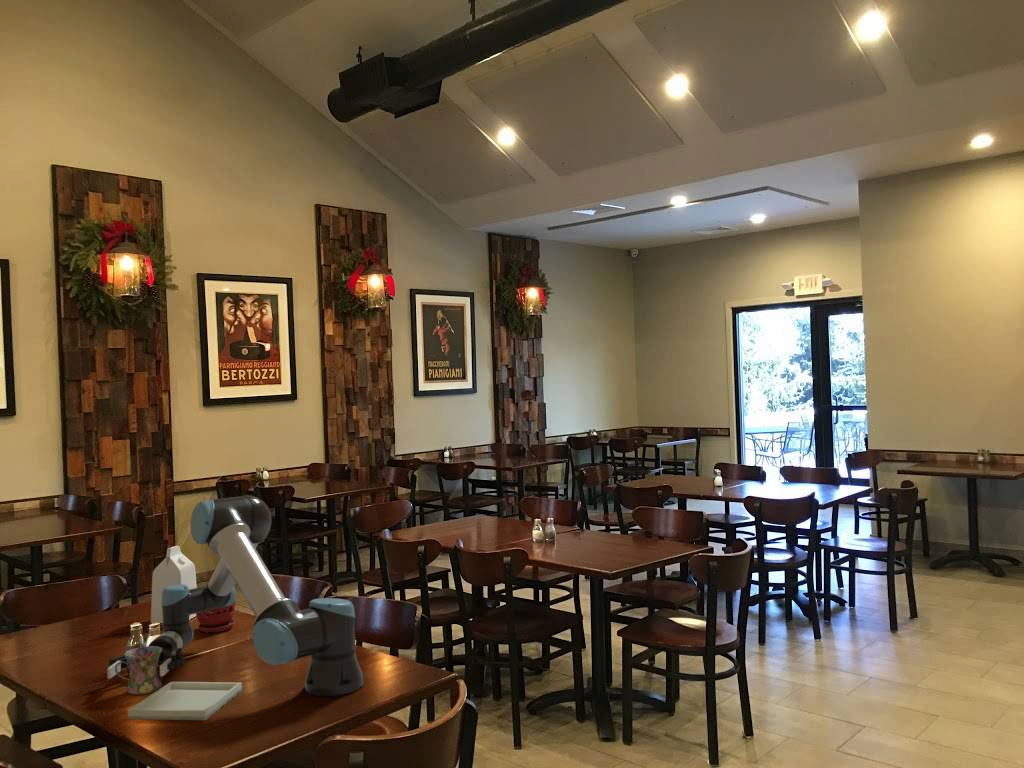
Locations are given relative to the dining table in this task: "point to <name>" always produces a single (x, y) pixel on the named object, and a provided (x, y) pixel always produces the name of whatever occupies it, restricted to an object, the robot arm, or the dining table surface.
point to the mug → (142, 669)
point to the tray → (185, 701)
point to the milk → (171, 579)
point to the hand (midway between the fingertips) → (135, 672)
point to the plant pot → (216, 619)
